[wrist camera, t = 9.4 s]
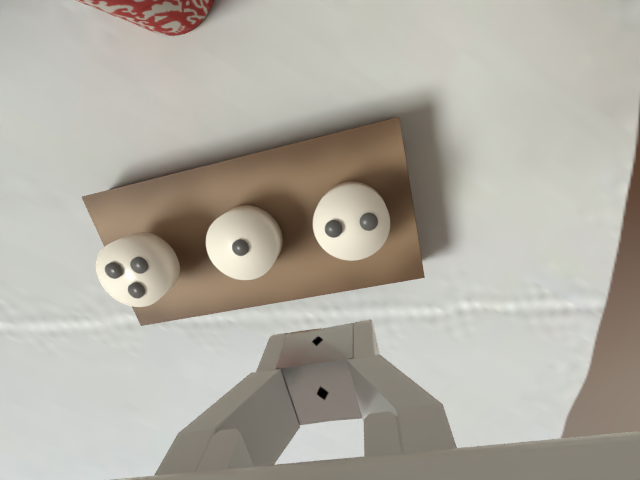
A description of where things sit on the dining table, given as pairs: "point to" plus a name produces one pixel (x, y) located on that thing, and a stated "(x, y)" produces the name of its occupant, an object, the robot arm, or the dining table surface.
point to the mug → (157, 13)
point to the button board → (284, 206)
